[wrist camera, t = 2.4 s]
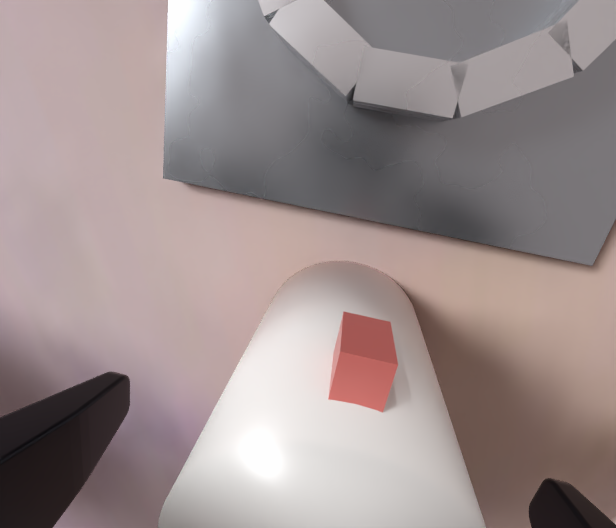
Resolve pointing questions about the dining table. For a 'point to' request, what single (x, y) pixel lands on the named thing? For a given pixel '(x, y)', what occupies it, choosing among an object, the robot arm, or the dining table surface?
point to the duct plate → (404, 113)
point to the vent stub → (329, 419)
